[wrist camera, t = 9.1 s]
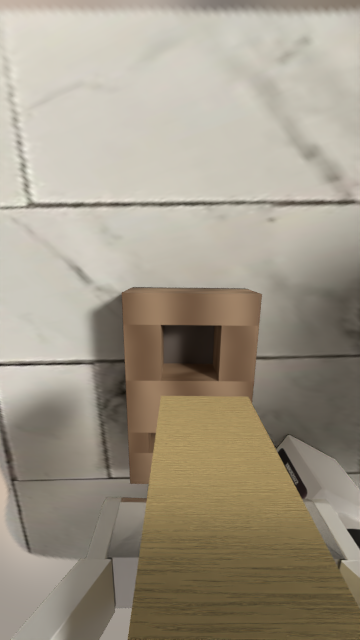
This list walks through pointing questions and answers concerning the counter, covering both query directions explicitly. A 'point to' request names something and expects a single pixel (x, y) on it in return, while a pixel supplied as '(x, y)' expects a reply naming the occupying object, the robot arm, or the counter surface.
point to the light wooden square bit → (231, 537)
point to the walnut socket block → (183, 354)
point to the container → (322, 481)
